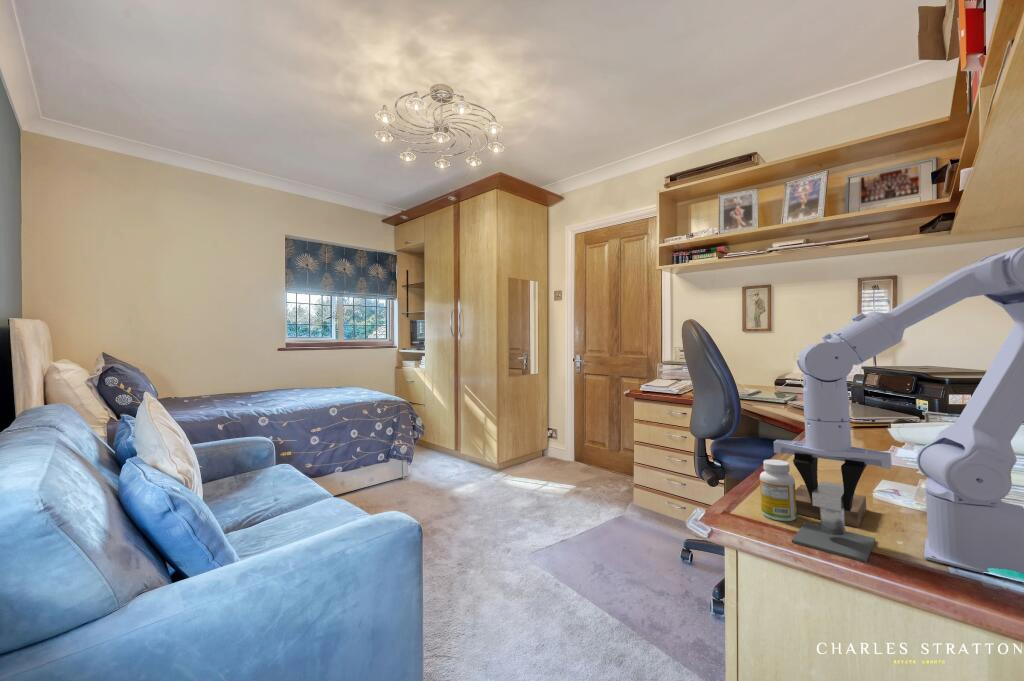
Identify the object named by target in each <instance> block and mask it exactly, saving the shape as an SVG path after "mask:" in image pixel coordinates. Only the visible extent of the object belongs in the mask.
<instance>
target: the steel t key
mask: <svg viewBox="0 0 1024 681" xmlns="http://www.w3.org/2000/svg"><path fill="white" fill-rule="evenodd" d="M843 500H844V487H843V484H840V483H835V482H829V481H822V480H821V481H820V482H819V483H818V486H817V487H816V488H815V490H814V491H813V492H812V501H813V506H817V507H820V519H819V520H820V525H821V529H822V530H823V531H824V532H827V533H830V534H834V535H844V534H845V531H846V525H845V521H844V502H843Z"/></svg>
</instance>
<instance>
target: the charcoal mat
mask: <svg viewBox="0 0 1024 681" xmlns="http://www.w3.org/2000/svg"><path fill="white" fill-rule="evenodd" d="M875 542H876V538H875V537H872V536H869V535H865V534H860V533H855V532H851V531H848V530H847V531H846V530H845V534H844V535H834V534H830V533H827V532H824V531H823V530H822V529H821V524H816V523H813V522H808V521H804V523H803V525H801V527H800V528H799V529H798V531H797V533H796V534H795V535H794V536H793V537H792V539H791V543H793V544H795V545H799V546H800V545H801V546H804V547H808V548H811V549H815V550H819V551H821V552H826V553H829V554H834V555H837V556H841V557H843V558H848V559H852V560H856V561H859V562H863V563H868V561H869V559H870V555H871V552H872V549H873V547H874V544H875Z"/></svg>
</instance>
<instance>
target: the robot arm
mask: <svg viewBox="0 0 1024 681" xmlns="http://www.w3.org/2000/svg"><path fill="white" fill-rule="evenodd" d="M979 296H984V297H985V298H987V299H988V300H990V301H992V302H993V303H995V304H997V305H998V306H1000V307H1001V308H1003V310H1004V311H1005V312H1006V313H1007V314H1008V316H1009V317H1010V318H1011V319H1012V320H1013V322H1014V325H1013V327H1012V329H1011V330H1010V332H1009V333H1008V335H1007V337H1006V338H1005V340H1004V342H1003V343H1002V344H1001V346H1000V348H999V350H998V351H997V354H996V355H995V356H994V358H993V359H992V362H991V363H990V365H989V367H988V368H987V369H986V372H985V373H984V375H983V377H982V378H981V380H980V382H979V384H978V385H977V387H976V388H975V390H974V391H973V393H972V395H971V397H970V398H969V400H968V401H967V403H966V405H965V407H964V408H963V410H962V411H961V413H960V415H959V416H958V418H957V420H956V422H954V423H953V424H951V425H949V426H947V427H945V428H944V429H942V430H940V431H939V433H938V434H937V436H936V438H935V439H933V440H932V441H931V442H929V443H928V444H925V445H924V446H923V447H921V448H920V449H919V451H918V452H917V455H916V466H917V467H918V469H919V471H920V472H921V473H922V475H924V476H925V477H926V478H927V482H926V484H925V486H924V490H925V492H924V493H925V507H926V508H925V509H926V522H927V537H925V544H924V550H923V558H924V559H925V560H927V561H933V562H937V563H940V564H945V565H947V566H948V565H949V566H952V567H957V568H960V569H964V570H969V571H973V572H977V573H980V574H984V573H983V572H989V571H988V570H987V569H988V568H995V569H996V568H998V569H1007V570H1013V571H1016V572H1019V573H1022V574H1024V506H1023V505H1020V504H1014V503H1010V502H1006V501H1002V500H1003V499H1004V498H1005V497H1006V496H1008V495H1009V493H1010V492H1011V489H1012V487H1013V486H1012V485H1013V482H1012V472H1013V471H1012V470H1013V468H1014V466H1015V465H1016V463H1017V456H1016V453H1015V451H1014V448H1013V445H1012V440H1013V438H1015V436H1016V434H1017V432H1018V431H1019V430H1020V427H1022V424H1023V423H1024V245H1022V246H1021V247H1018V248H1014V249H1011V250H1008V251H1005V252H1001V253H993V254H990V255H988V256H985V257H983V258H981V259H979V260H978V261H977V262H975V263H971V264H969V265H966V266H963V267H962V268H959V269H958V270H957V269H956V271H953V272H951V273H950V274H947V275H946V276H944V277H943V278H941V279H940V280H938V281H936V282H934V283H933V284H931V285H930V286H928V287H927V288H925V289H923V290H921V291H920V292H919V293H917V294H915V295H913V296H912V297H910V298H908V299H907V300H905V301H904V302H902V303H901V304H899V305H897V306H895V307H894V308H893V309H891V310H889V311H888V312H879V311H869V312H868V313H866V314H864V313H863V312H862V313H857V314H856V315H854V316H852V317H851V320H852V322H850V323H849V324H847V325H845V326H844V327H842V328H840V329H838V330H837V331H835V332H833V333H825V334H824V335H822V336H821V339H822V340H823V342H819V343H813V344H810V345H807V346H806V347H804V348H803V350H802V351H801V353H800V354H799V356H798V360H796V363H797V367H798V369H799V371H801V373H803V375H802V383H803V389H802V396H803V398H802V400H803V415H804V416H803V417H804V436H805V437H804V438H805V441H804V440H803V441H800V440H799V441H798V440H787V439H786V440H784V439H783V440H782V439H776V440H774V441H773V452H774V454H780V455H782V454H787V455H793V459H792V463H793V465H794V467H795V468H796V469H797V470H796V471H798V473H799V474H800V476H801V478H802V480H803V482H804V485H806V487H807V490H808V493H809V496H810V499H811V503H812V504H813V501H812V492H813V491H814V490H815V488H816V487H817V486H818V485H819V483H818V482H819V481H818V464H819V459H824V460H830V461H838V462H844V463H842V464H841V466H840V471H841V477H842V485H843V487H844V500H843V502H844V510H846V511H850V510H851V509H852V501H853V496H854V494H855V492H856V488H857V485H858V483H859V482H860V479H861V477H862V474H864V471H865V470H866V468H867V466H875V467H880V468H882V469H887V470H889V469H892V466H893V465H892V453H891V452H885V451H881V450H880V451H878V450H873V449H867V448H862V447H857V446H852V436H851V432H852V431H851V418H850V402H849V400H850V398H849V391H848V382H847V380H848V379H847V377H848V376H849V374H850V373H851V372H852V370H853V369H854V366H859V365H861V364H863V363H864V362H866V361H869V360H870V359H872V358H874V357H875V356H878V355H879V354H881V353H884V352H885V351H887V350H888V349H891V348H892V347H894V346H896V345H898V344H899V343H901V342H902V340H903V337H904V333H905V330H906V329H908V328H910V327H912V326H913V325H916V324H918V323H920V322H921V321H924V320H926V319H927V318H929V317H931V316H933V315H935V314H937V313H939V312H941V311H944V310H945V309H947V308H949V307H952V306H953V305H955V304H957V303H959V302H961V301H963V300H964V299H967V298H973V297H979Z"/></svg>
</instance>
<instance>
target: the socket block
mask: <svg viewBox="0 0 1024 681" xmlns="http://www.w3.org/2000/svg"><path fill="white" fill-rule="evenodd" d="M795 494H796V512H797V515H800V516H806V517H810V518H814V519H817V520H818V519H819V520H821V519H820V507H817V506H813V504H812V503H811V499H810V496H809V493H808V490H807V487H806V485H805V484H799V486H798V487H797V488H795ZM866 512H867V497H866V496H865V495H861V494H856V493H854V496H853V501H852V509H851V510H850V511H846V510H844V521H845V526H848V527H849V526H850V527H855V528H859V527H860V525H861V522H862V521H863V519H864V516H865V514H866Z"/></svg>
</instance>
